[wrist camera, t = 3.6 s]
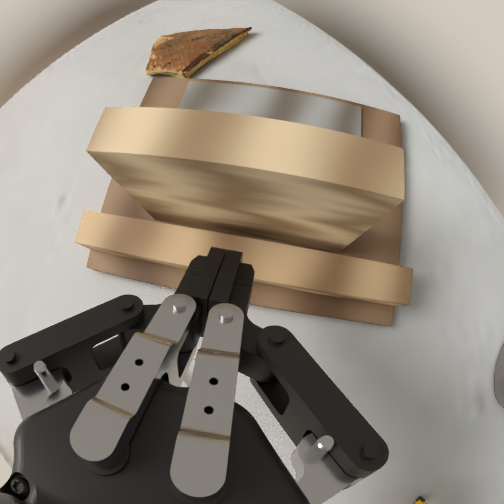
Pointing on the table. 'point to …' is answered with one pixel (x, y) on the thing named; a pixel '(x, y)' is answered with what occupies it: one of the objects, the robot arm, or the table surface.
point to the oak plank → (250, 173)
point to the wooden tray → (254, 248)
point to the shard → (191, 50)
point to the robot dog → (420, 501)
